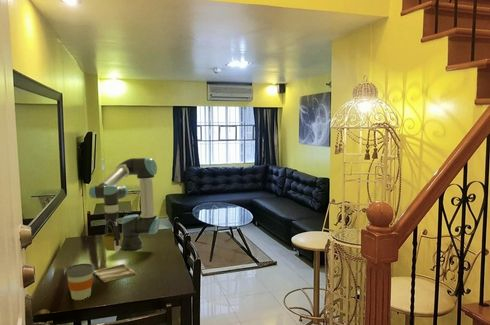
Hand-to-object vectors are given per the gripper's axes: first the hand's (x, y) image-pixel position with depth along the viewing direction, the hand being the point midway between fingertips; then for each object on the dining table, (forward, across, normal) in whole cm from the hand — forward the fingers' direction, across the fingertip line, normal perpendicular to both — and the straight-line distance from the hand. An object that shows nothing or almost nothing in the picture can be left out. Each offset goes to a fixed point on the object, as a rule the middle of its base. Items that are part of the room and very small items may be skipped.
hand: (113, 248), depth 224 cm
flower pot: (+1, 0, 0) cm, 1 cm away
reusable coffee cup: (+16, +19, -24) cm, 34 cm away
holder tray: (+15, 0, 0) cm, 15 cm away
